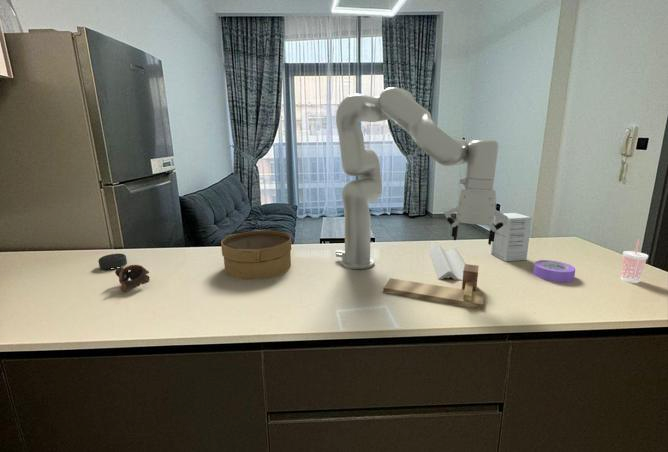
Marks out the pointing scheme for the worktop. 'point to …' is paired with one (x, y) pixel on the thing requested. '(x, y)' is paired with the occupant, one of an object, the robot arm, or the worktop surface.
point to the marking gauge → (469, 280)
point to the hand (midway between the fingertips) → (472, 241)
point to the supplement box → (512, 237)
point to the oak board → (433, 293)
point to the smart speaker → (112, 261)
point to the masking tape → (554, 271)
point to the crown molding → (447, 262)
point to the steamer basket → (256, 254)
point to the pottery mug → (131, 276)
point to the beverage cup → (633, 265)
